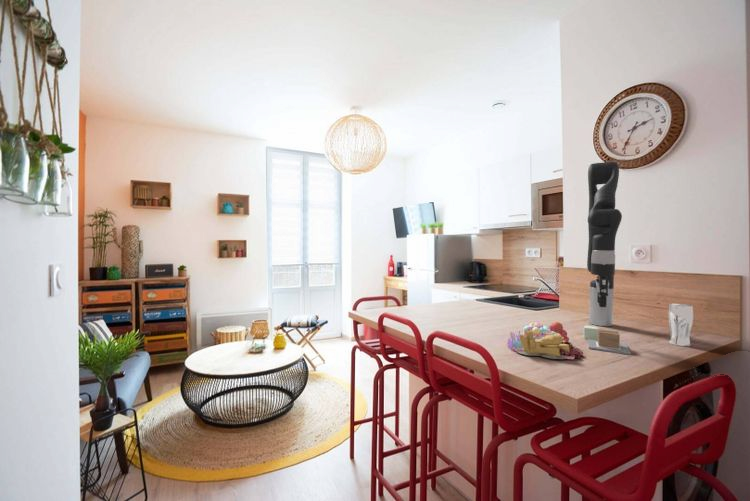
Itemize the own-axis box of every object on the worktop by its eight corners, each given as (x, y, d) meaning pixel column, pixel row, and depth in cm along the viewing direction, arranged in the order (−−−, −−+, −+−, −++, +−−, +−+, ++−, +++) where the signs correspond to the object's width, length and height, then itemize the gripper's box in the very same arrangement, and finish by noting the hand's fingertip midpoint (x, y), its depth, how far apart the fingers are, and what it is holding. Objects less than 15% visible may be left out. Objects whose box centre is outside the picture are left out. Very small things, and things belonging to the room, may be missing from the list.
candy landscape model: (594, 364, 106) (595, 335, 106) (514, 358, 111) (514, 330, 111) (565, 342, 131) (566, 318, 131) (500, 338, 135) (501, 314, 135)
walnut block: (597, 342, 129) (598, 328, 128) (617, 344, 126) (617, 331, 125) (598, 346, 123) (599, 332, 123) (619, 348, 120) (619, 334, 120)
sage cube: (583, 336, 139) (584, 325, 139) (596, 338, 137) (597, 326, 137) (584, 339, 136) (584, 327, 135) (597, 340, 133) (597, 329, 133)
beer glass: (693, 347, 126) (694, 307, 125) (668, 344, 130) (669, 304, 129) (690, 343, 131) (692, 304, 131) (666, 340, 135) (668, 302, 135)
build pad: (587, 340, 133) (587, 339, 133) (626, 345, 127) (626, 344, 127) (588, 348, 122) (589, 346, 122) (630, 354, 116) (630, 352, 116)
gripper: (590, 260, 138) (589, 301, 138) (592, 263, 125) (591, 307, 126) (612, 261, 134) (611, 302, 135) (617, 264, 122) (615, 309, 122)
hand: (601, 305), depth 130 cm, fingers open, 8 cm apart
